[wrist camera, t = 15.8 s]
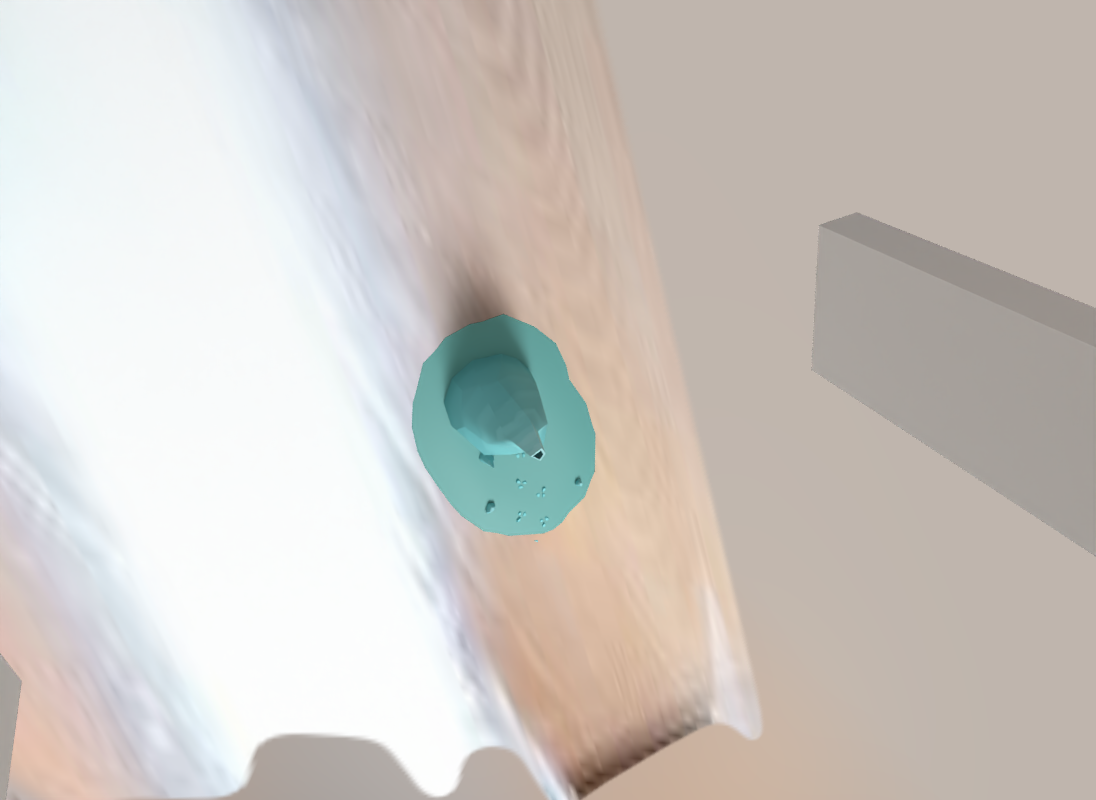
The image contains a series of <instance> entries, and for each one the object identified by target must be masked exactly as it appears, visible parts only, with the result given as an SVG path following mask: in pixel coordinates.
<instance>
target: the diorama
mask: <svg viewBox="0 0 1096 800" xmlns="http://www.w3.org/2000/svg"><path fill="white" fill-rule="evenodd" d="M412 429H413V433H414V438H415V442H416V446H417V451H418V453H419V455H420V457H421V460H422V462H423V464H424V466H425V468H426V470H427V471H428V472H429V474H430V475H431V477H432V478H433V480H434V481H435V483H436V484H437V486H438V487H439V489H440V490H441V491H442V493H443V494H444V495H445V497H446V498H447V500H448V501H449V502H450V504H451V505H452V506H453V507H454V508H455V509H456V510H457V511H458V513H459V514H460V515H461V516H462V517H464V518H465V519H467V520H468V521H470V522H471V523H473V524H474V525H476V526H477V527H478V528H480V529H481V530H483V531H487V532H494V533H499V534H504V535H508V536H512V535H527V534H540V533H545V532H548V531H550V530H553V529H554V528H556V527H557V526H558V525H559V524H560V523H562V522H563V520H564V519H565V517H566V516H567V514H568V513H569V512H570V511H571V510H572V509H573V508H574V507H575V506H576V505H577V504H578V503H579V502H580V501H581V500H582V499H583V498H584V497H585V495H586V492H587V489H588V486H589V484H590V481H591V479H592V476H593V474H594V472H595V432H594V429H593V426H592V423H591V419H590V416H589V412H588V409H587V405H586V403H585V401H584V400H583V398H582V397H581V396H580V394H579V393H578V391H577V390H576V388H575V387H574V386H573V384H572V383H571V381H570V380H569V376H568V372H567V367H566V364H565V362H564V360H563V358H562V356H561V354H560V351H559V349H558V347H557V345H556V343H554V342H553V341H552V340H551V339H549V338H548V337H547V336H546V335H544V334H543V333H542V332H540V331H539V330H538V329H537V328H535V327H534V326H531V325H529V324H527V323H524V322H522V321H519V320H517V319H514V318H512V317H509V316H507V315H505V314H502V315H499V316H497V317H494V318H491V319H488V320H486V321H483V322H478V323H474V324H469V325H468V326H466V327H464V328H462V329H460V330H459V331H457V332H455V333H453V334H451V335H449V336H448V337H446V338H445V339H444V340H443V341H442V343H441V344H440V345H439V347H438V348H437V349H436V350H435V351H434V353H433V354H432V355H431V356H430V357H429V358H428V359H427V360H426V361H425V362H424V363H423V366H422V370H421V374H420V378H419V382H418V386H417V390H416V394H415V398H414V401H413V412H412ZM536 541H537V542H538V540H536Z"/></svg>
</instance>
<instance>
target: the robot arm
mask: <svg viewBox="0 0 1096 800" xmlns="http://www.w3.org/2000/svg"><path fill="white" fill-rule="evenodd" d="M812 350H813V351H812V370H813V371H814V372H816V373H817V374H819V375H820V376H822V377H823V378H825V379H826V380H828V381H830V382H831V383H832V384H834V385H836V386H837V387H839V388H840V389H841V390H843V391H845V392H846V393H848V394H849V395H851V396H852V397H854V398H855V399H857V400H858V401H860V402H861V403H863V404H864V405H866V406H867V407H869V408H870V409H872V410H874V411H875V412H877V413H878V414H880V415H881V416H883V417H884V418H886V419H887V420H889V421H890V422H892V423H893V424H895V425H896V426H898V427H900V428H901V429H902V430H904V431H905V432H907V433H909V434H910V435H912V436H913V437H915V438H916V439H918V440H919V441H921V442H922V443H924V444H925V445H927V446H928V447H930V448H931V449H933V450H935V451H936V452H937V453H939V454H940V455H942V456H944V457H945V458H947V459H948V460H950V461H951V462H953V463H954V464H956V465H957V466H959V467H960V468H962V469H963V470H965V471H967V472H968V473H969V474H971V475H973V476H974V477H976V478H977V479H979V480H980V481H982V482H983V483H985V484H986V485H988V486H989V487H991V488H992V489H994V490H996V491H997V492H998V493H1000V494H1002V495H1003V496H1004V497H1006V498H1007V499H1009V500H1011V501H1012V502H1014V503H1015V504H1017V505H1018V506H1020V507H1021V508H1023V509H1024V510H1026V511H1027V512H1029V513H1030V514H1032V515H1034V516H1035V517H1037V518H1038V519H1040V520H1041V521H1043V522H1044V523H1046V524H1047V525H1049V526H1050V527H1052V528H1053V529H1055V530H1056V531H1058V532H1059V533H1061V534H1062V535H1064V536H1065V537H1067V538H1068V539H1070V540H1071V541H1073V542H1075V543H1076V544H1078V545H1079V546H1081V547H1082V548H1084V549H1085V550H1087V551H1088V552H1090V553H1091V554H1093V555H1094V556H1096V308H1094V307H1092V306H1089V305H1087V304H1084V303H1082V302H1079V301H1077V300H1074V299H1072V298H1069V297H1067V296H1064V295H1062V294H1059V293H1057V292H1054V291H1052V290H1049V289H1047V288H1044V287H1042V286H1039V285H1037V284H1034V283H1032V282H1029V281H1027V280H1024V279H1022V278H1019V277H1017V276H1014V275H1012V274H1010V273H1007V272H1005V271H1002V270H999V269H997V268H995V267H992V266H990V265H987V264H984V263H982V262H980V261H977V260H975V259H972V258H970V257H967V256H964V255H962V254H960V253H957V252H955V251H952V250H949V249H947V248H945V247H942V246H940V245H937V244H934V243H932V242H930V241H927V240H925V239H922V238H920V237H917V236H915V235H912V234H910V233H907V232H905V231H902V230H900V229H897V228H895V227H892V226H890V225H887V224H885V223H882V222H880V221H877V220H875V219H872V218H870V217H867V216H865V215H862V214H860V213H854V214H851V215H848V216H845V217H842V218H839V219H836V220H833V221H830V222H827V223H824V224H821V225H819V234H818V253H817V273H816V291H815V310H814V330H813V349H812ZM21 683H22V681H21V679H20V678H19V677H18V676H17V674H16V673H15V672H14V670H13V669H12V668H11V667H10V665H9V664H8V663H7V661H6V660H5V659H4V657H3V656H2V655H1V654H0V800H6V795H7V787H8V780H9V773H10V765H11V758H12V750H13V743H14V735H15V728H16V720H17V713H18V705H19V698H20V690H21Z"/></svg>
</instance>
